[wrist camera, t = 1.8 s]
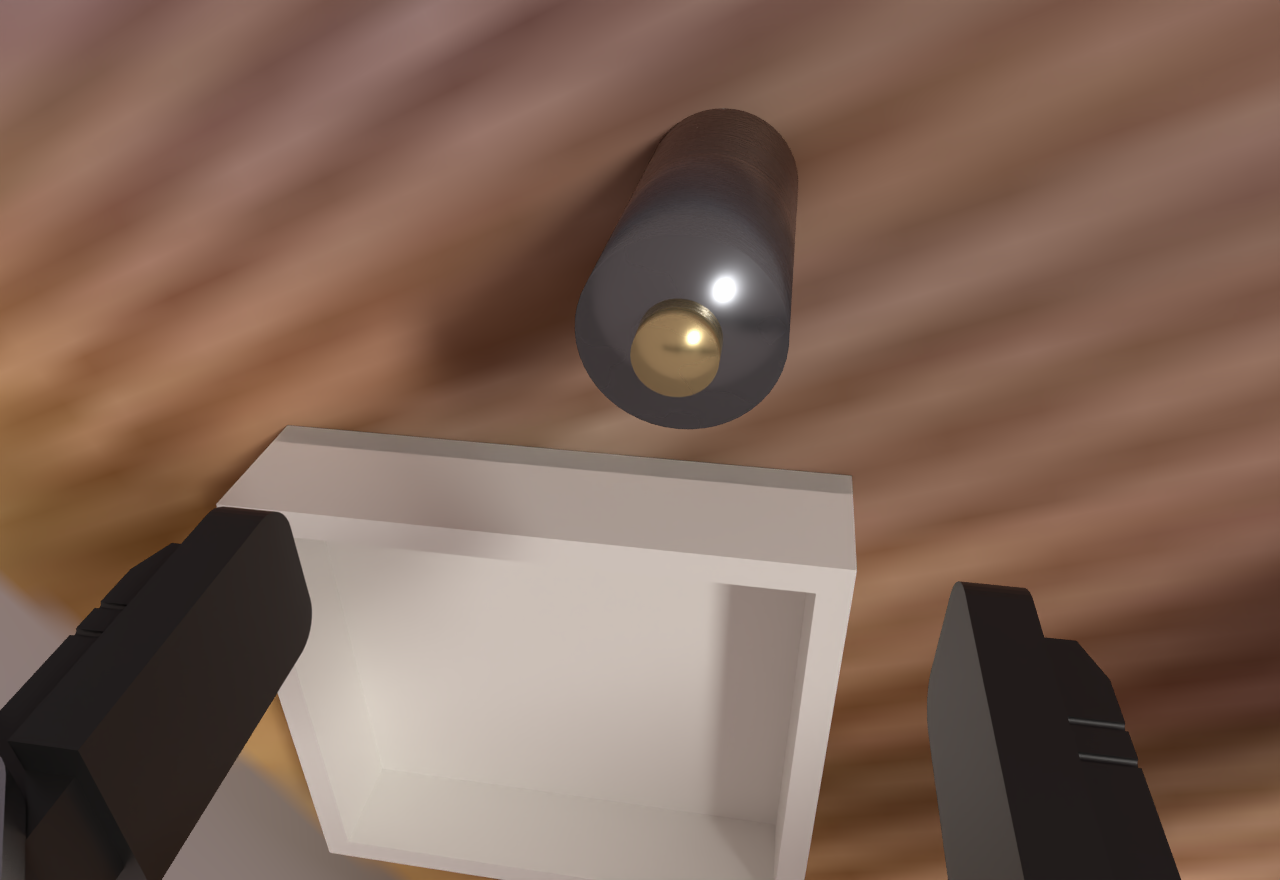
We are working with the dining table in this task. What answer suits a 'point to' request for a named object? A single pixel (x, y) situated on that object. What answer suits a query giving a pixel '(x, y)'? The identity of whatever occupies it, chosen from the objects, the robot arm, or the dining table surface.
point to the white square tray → (561, 654)
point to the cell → (697, 277)
